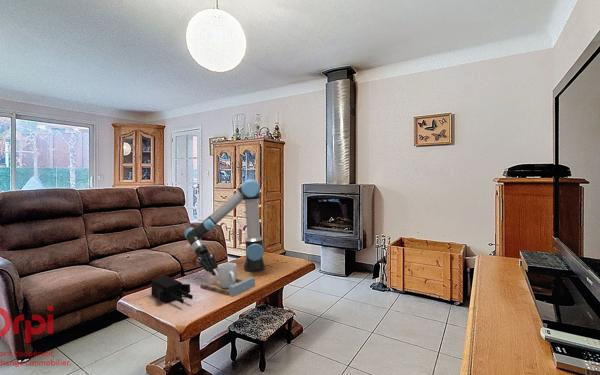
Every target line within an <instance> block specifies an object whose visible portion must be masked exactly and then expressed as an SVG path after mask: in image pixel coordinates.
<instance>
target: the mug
mask: <svg viewBox="0 0 600 375" xmlns="http://www.w3.org/2000/svg"><path fill="white" fill-rule="evenodd" d="M217 265H218V267H217V271H218V278H219V280H218V281H219V282H218V283H219V285H220V287H221V289H229V286H231V285H234V284H236V282H235V281H236V278H237V275H238V274H237V270H238V269H237V268H238V267H237V266H238V265H237V263H235V262H223V263H221V264H220V263H219V264H217Z"/></svg>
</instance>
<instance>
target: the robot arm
mask: <svg viewBox="0 0 600 375" xmlns="http://www.w3.org/2000/svg"><path fill="white" fill-rule="evenodd" d="M260 191H261V186H260V184H259V182H258V181H257V180H256V179H253V178H250V179H248V178H247V179H246V180H244V181H243V182H242V185H240V187H239V188H238V189H237V190H236V192H235V193H233V195H232V196H230V197H229V198H228V199H227V200H226V201H225V202H224V203H223V204H221V205H220V206H218V207H217V209H216V210H214V211H213V212H212V213H211V214H210V215H209V216H207V218H205V219H204V220H202V222H201V223H199V225H197V226H196V227H193V226H190V227H189V228H186V229H185V230H184V232H183V235H184V237H185V239H186V240H187V242H188V244H189V246H190V247H191V249H192V251H193V252H194V254H195V255H196V257H197V259H196V262H197V263H198V264H199V265H200V266H201V267H202V268H203V269H204V270H205V272H209V273H210V274H211V275H212V276H213V277H214V278H215V279H214V280H215V281H219V278H218V265H219V264H218V263H217V260H216V258H215V254H214V253H213V254H211V253H210V252H209V249H208V247H207V246H206V244H205V243H204V241H203V240H202V238H203V237H204V236H205V235H206V234H208V233H210V232H211V231H212V230H213V229H214V228H216V225H218V223H219V222H221V221H222V220H223V219H224V218H225V217H226V216H227V215H228V214H230V213H231V212H232V211H233V210H234V209H236V208H237V207H238V206H239V205H240V204H241V203H242V202H244V208H245V221H246V235H247V236H246V238H245V240H244V241H245V242H244V245H245V261H244V264H243V271H245V272H250V273H252V272H254V273H255V272H260V271H264V270H265V269H266V264H265V261H264V258H263V257H264V254H265V249H264V241H263V240H264V239H263V237H262V236H261V229H260V227H261V226H260V215H259V201H260V200H261V195H260V194H261V193H260Z"/></svg>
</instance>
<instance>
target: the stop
mask: <svg viewBox="0 0 600 375" xmlns="http://www.w3.org/2000/svg"><path fill="white" fill-rule="evenodd" d="M242 280H243V281H241V282H238V283H236V282H235V284H234V285H231V286H229V288H228V291H229V295H228V296H230V297H235V296H237V295H239V294H242V293H245V291H247V290H250V289H252V288H254V287H255V286H256V278H255V277H252V276H250V277H247V278H245V279H242Z"/></svg>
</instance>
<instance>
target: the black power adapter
mask: <svg viewBox="0 0 600 375" xmlns="http://www.w3.org/2000/svg"><path fill="white" fill-rule="evenodd" d="M150 283H151V295H152V296H153V297H155V298H156V299H157V300H159V301H161V302H163V303H165V304H166V305H167V304H169V303H172V302H176V301H177V302H179V303H180V304H185V303H184V301H185V299H184V298H183V296H184V297H185V298H187V299H190V300H193V299H194V298H193V294H191V284H190V283H183V282H181V281H179V280H177V279H175V278H173V277H170V276H169V275H164V276H161V277H160V276H159V277H156V278H152V279H151V282H150Z"/></svg>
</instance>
